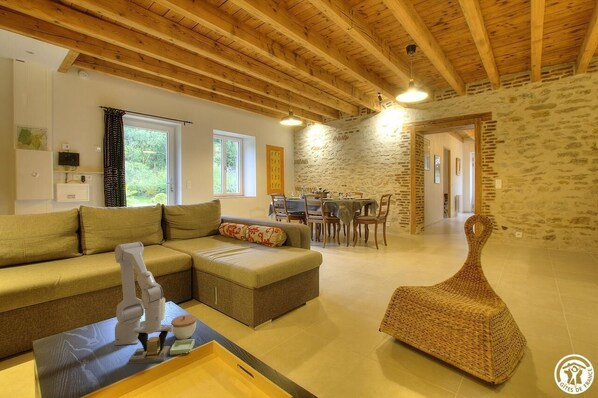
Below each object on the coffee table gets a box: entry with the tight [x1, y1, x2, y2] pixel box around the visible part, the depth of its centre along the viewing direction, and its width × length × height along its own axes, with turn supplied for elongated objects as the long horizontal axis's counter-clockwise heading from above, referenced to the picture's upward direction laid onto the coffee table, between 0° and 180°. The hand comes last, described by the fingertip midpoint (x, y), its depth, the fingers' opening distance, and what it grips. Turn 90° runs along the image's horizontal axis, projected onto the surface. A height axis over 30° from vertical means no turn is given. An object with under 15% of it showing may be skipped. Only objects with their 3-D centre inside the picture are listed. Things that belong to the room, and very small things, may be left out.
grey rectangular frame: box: [128, 345, 171, 364], centre depth 118 cm, size 13×8×2 cm, turn 97°
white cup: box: [160, 297, 166, 321], centre depth 152 cm, size 8×8×10 cm
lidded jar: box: [170, 314, 197, 340], centre depth 134 cm, size 11×11×9 cm
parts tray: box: [169, 338, 195, 356], centre depth 123 cm, size 8×8×2 cm
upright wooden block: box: [147, 336, 161, 356], centre depth 118 cm, size 4×4×7 cm
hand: (154, 349), depth 118 cm, fingers open, 5 cm apart
